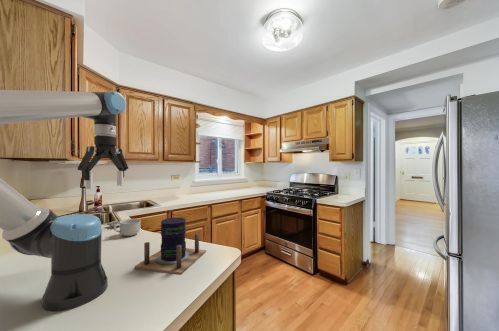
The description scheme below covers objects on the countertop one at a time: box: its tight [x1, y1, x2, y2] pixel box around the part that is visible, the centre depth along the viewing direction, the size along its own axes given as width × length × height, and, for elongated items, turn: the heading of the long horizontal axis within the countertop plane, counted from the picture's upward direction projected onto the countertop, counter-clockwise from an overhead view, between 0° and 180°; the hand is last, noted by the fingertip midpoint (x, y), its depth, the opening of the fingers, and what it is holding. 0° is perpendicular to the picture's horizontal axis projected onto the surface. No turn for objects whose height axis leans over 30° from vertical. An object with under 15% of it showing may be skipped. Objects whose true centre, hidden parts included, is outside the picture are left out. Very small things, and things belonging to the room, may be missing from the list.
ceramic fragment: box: [106, 221, 120, 228], centre depth 138 cm, size 11×3×10 cm
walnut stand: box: [134, 232, 207, 275], centre depth 86 cm, size 20×20×10 cm
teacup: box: [113, 218, 142, 237], centre depth 118 cm, size 14×11×8 cm
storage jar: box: [160, 217, 187, 262], centre depth 86 cm, size 10×10×15 cm
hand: (105, 187), depth 86 cm, fingers open, 13 cm apart
